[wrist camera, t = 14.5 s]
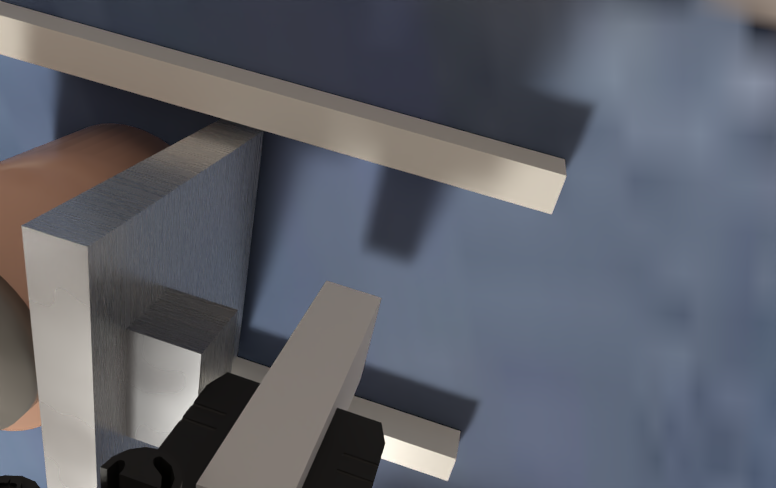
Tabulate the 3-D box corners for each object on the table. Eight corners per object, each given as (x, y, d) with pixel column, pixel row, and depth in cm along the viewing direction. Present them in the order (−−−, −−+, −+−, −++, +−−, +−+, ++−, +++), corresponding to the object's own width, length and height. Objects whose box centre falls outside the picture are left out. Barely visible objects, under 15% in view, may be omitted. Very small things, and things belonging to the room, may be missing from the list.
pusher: (204, 344, 20) (51, 524, 13) (222, 118, 16) (21, 225, 10) (283, 370, 19) (164, 567, 13) (320, 147, 16) (178, 276, 9)
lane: (-196, 234, 22) (-334, 287, 19) (-292, -82, 17) (-506, -89, 14) (452, 452, 20) (433, 562, 16) (564, 159, 15) (572, 226, 11)
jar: (210, 313, 19) (59, 481, 13) (56, 262, 20) (-158, 401, 14) (225, 154, 17) (42, 273, 11) (46, 100, 17) (-226, 183, 11)
